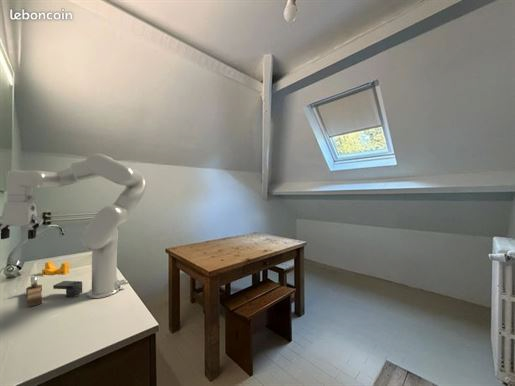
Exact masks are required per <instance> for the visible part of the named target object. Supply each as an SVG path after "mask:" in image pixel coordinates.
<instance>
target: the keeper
mask: <svg viewBox="0 0 515 386" xmlns="http://www.w3.org/2000/svg"><path fill="white" fill-rule="evenodd" d="M52 288H53V290H65V298H71V299H72V298H74V297H77V296H78V295H80V294H82V293H83V281H78V280H63V281H60V282H58V283H56V284H54V285H53V287H52Z"/></svg>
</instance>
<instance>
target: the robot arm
mask: <svg viewBox="0 0 515 386" xmlns="http://www.w3.org/2000/svg"><path fill="white" fill-rule="evenodd" d="M98 177H101V178H103V179H106V180H108V181H109V182H112V183H114V184H116V185H119V186H125V188H124V189H123V191H121V193H120V194H119V196H118V197H117V198H116V200H115V201H114V202H113V203H112V205H111V204H110V205H107V206H105V207H102V208H100V210H99V211H98V212H96V215H95V216H94V217H93V219H92V220H91V221H90V223H89V224H88V225H87V227H86V228H85V230H84V231H83V233H82V235H81V244H82V246H83V247H84V248H85V249H87V250H92V252H91V289H90V290H89V291H87V294H86V295H87V297H88V298H90V299H99V298H105V297H109V296H112V295H115V294H117V293H118V292H120V290H121V286H126V285H128V284H129V280H128V279H126V280H125V279H121V280H119V279H118V275H117V273H118V272H117V269H118V268H117V266H118V264H117V263H118V262H117V261H118V259H117V257H118V242H119V231H118V226H120V225H122V224H124V223H126V222H127V220H128V219H129V218H130V216H131V214H132V213H133V212H134V210H135V208H136V207H137V206H138V204H139V203H140V201H141V199H142V198H143V196H144V194H145V192H146V188H147V182H146V179H145V177H144V176H143V174H142V173H141V172H140V171H139V170H137V169H135V168H133V167H129V166H126V165H124V164H122V163H120V162H118V161H116V160H114V159H113V158H112V157H110V156H108V155H105V154H103V153H92V154H90V155H89V156H87V157H86V159H83V160H79V161H78V160H77V161H73V162H71V164H70V167H68V168H66V169H65V168H64V169H61V170H56V171H46V170H22V169H21V170H20V169H11V170H8V172H7V178H6V179H7V180H6V181H7V182H6V183H7V184H6V201H5V202H4V204H3V208H2V212H1V216H0V240H6V239H10V237H11V236H10V235H11V234H10V233H11V232H10V231H11V229H10V227H13V226H21V227H22V226H26V227H27V228H28V231H27V240H32V239H36V237H37V229H39V228H40V226H42V224H43V222H44V219H43V218H42V217H39V216H38V211H37V205H36V203H35V202H33V201H35V199H36V196H34V193H33V192H34V189H56V188H60V187H65V186H71V185H73V184H76V183H79V182H81V181H86V180H89V179H94V178H98ZM119 289H120V290H119ZM117 291H118V292H117ZM116 292H117V293H116Z"/></svg>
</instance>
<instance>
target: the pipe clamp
mask: <svg viewBox="0 0 515 386" xmlns="http://www.w3.org/2000/svg"><path fill="white" fill-rule="evenodd" d="M67 274H70V262H69V261H64V262H62V263H61V266H60V267H59V268H58V267H56V266H55V265H54V261H52V260H51V261H47V262H45V264H44V268H42V269H41V275H42V276H51V277H52V276H55V275H57V276H58V275H59V276H60V275H61V276H62V275H63V276H65V275H67Z"/></svg>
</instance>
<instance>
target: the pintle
mask: <svg viewBox="0 0 515 386" xmlns="http://www.w3.org/2000/svg"><path fill="white" fill-rule="evenodd" d="M37 285H38V276H33V277H31V278H30V286H31V287H36V286H37Z"/></svg>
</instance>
